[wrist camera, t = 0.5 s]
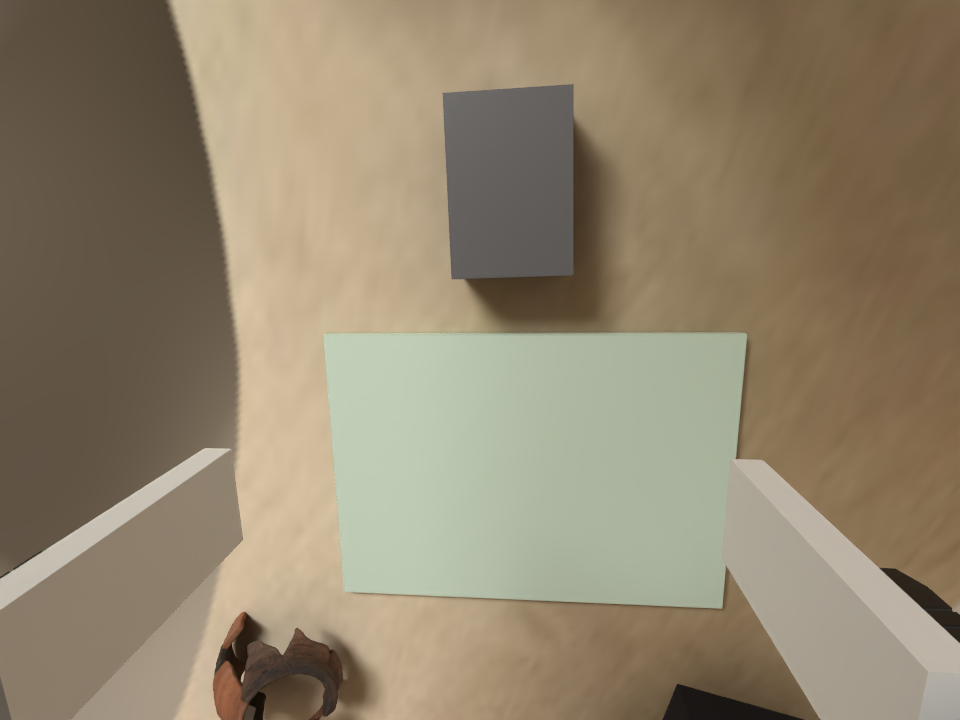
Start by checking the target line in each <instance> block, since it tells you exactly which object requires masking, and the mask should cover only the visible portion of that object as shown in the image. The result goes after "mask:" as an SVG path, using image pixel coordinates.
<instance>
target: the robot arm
mask: <svg viewBox="0 0 960 720" xmlns="http://www.w3.org/2000/svg"><path fill="white" fill-rule="evenodd" d="M242 540H243V536H242V528H241V520H240V513H239V505H238V497H237V489H236V482H235V474H234V466H233V458H232V451H231V449H211V448H205V449H203V450H201V451H200V452H198V453H197V454H195V455H194V456H192V457H190V458H189V459H187V460H186V461H184V462H183V463H181V464H180V465H178V466H176V467H175V468H173V469H172V470H170V471H168V472H167V473H165V474H164V475H163V476H161V477H159V478H158V479H156V480H155V481H153V482H151V483H150V484H148V485H147V486H145V487H143V488H142V489H140V490H139V491H137V492H136V493H134V494H132V495H131V496H129V497H128V498H126V499H125V500H123V501H122V502H120V503H118V504H117V505H115V506H114V507H112V508H111V509H109V510H107V511H106V512H104V513H103V514H101V515H100V516H98V517H96V518H95V519H93V520H92V521H90V522H89V523H87V524H85V525H84V526H82V527H81V528H79V529H78V530H76V531H75V532H73V533H71V534H70V535H68V536H67V537H65V538H64V539H62V540H60V541H59V542H57V543H56V544H54V545H53V546H51V547H49V548H48V549H45V550H43V551H41V552H39V553H37V554H36V555H34V556H32V557H31V558H29V559H28V560H26V561H25V562H23V563H21V564H20V565H18V566H17V567H15V568H14V570H13V571H12V572H7V573H6V574H4V575H3V576H1V577H0V720H71V719H72V718H73V717H74V716H75V715H76V713H77V712H78V711H79V710H80V709H81V708H82V707H83V706H84V705H85V704H86V703H87V702H88V701H89V700H90V699H91V698H92V697H93V696H94V695H95V693H96V692H98V690H99V689H100V688H101V687H102V686H103V685H104V684H105V683H106V682H107V681H108V680H109V679H110V678H111V677H112V676H113V675H114V674H115V673H116V672H117V671H118V670H119V668H120V667H122V665H123V664H124V663H125V662H126V661H127V660H128V659H129V658H130V657H131V656H132V655H133V654H134V653H135V652H136V651H137V650H138V649H139V648H140V647H141V646H142V645H143V644H144V642H145V641H146V640H147V639H148V638H149V637H150V636H151V635H152V634H153V633H154V632H155V631H156V630H157V629H158V628H159V627H160V626H161V625H162V623H164V622H165V620H167V618H168V617H169V616H170V615H171V614H172V613H173V612H174V611H175V610H176V609H177V608H178V607H179V606H180V605H181V604H182V603H183V602H184V601H185V600H186V599H187V598H188V596H190V594H191V593H192V592H193V591H194V590H195V589H196V588H197V587H198V586H199V585H200V584H201V583H202V582H203V581H204V580H205V579H206V578H207V577H208V576H209V574H211V573H212V571H213V570H214V569H215V568H216V567H217V566H218V565H219V564H220V563H221V562H222V561H223V560H224V559H225V558H226V557H227V556H228V555H229V554H230V553H231V552H232V551H233V550H234V549H235V547H236V546H237V545H238V544H239V543H240V542H241V541H242ZM721 558H722V559H723V561H724V563H725V564H726V566H727V568H728V569H729V571H730V573H731V574H732V576H733V578H734V579H735V581H736V582H737V584H738V586H739V587H740V589H741V591H742V592H743V594H744V596H745V597H746V599H747V600H748V602H749V604H750V605H751V607H752V609H753V610H754V612H755V614H756V615H757V617H758V618H759V620H760V622H761V623H762V625H763V627H764V628H765V630H766V632H767V633H768V635H769V636H770V638H771V640H772V641H773V643H774V645H775V646H776V648H777V650H778V651H779V653H780V654H781V656H782V658H783V659H784V661H785V663H786V664H787V666H788V668H789V669H790V671H791V672H792V674H793V676H794V677H795V679H796V681H797V682H798V684H799V686H800V687H801V689H802V690H803V692H804V694H805V695H806V697H807V699H808V700H809V702H810V704H811V705H812V707H813V709H814V710H815V712H816V713H817V715H818V717H819V718H820V720H960V615H959V614H958V613H957V612H953V611H952V608H951V607H950V606H949V605H948V604H947V603H945V602H944V601H943V600H942V599H941V598H940V597H938V596H937V595H936V594H935V593H934V592H933V591H932V590H930V589H929V588H928V587H927V586H925V585H923V584H921V583H920V582H918V581H916V580H914V579H913V578H911V577H909V576H907V575H905V574H904V573H902V572H900V571H898V570H897V569H890V568H878V567H877V566H876V565H875V564H874V563H873V562H872V561H871V560H870V559H869V558H868V557H866V556H865V555H864V554H863V553H862V552H861V551H860V550H859V549H858V548H857V547H856V546H855V545H854V544H853V543H851V542H850V541H849V540H848V539H847V538H846V537H845V536H844V535H843V534H842V533H841V532H840V531H839V530H837V529H836V528H835V527H834V526H833V525H832V524H831V523H830V522H829V521H828V520H827V519H826V518H825V517H824V516H822V515H821V514H820V513H819V512H818V511H817V510H816V509H815V508H814V507H813V506H812V505H811V504H810V503H808V502H807V501H806V500H805V499H804V498H803V497H802V496H801V495H800V494H799V493H798V492H797V491H796V490H795V489H793V488H792V487H791V486H790V485H789V484H788V483H787V482H786V481H785V480H784V479H783V478H782V477H781V476H780V475H778V474H777V473H776V472H775V471H774V470H773V469H772V468H771V467H770V466H769V465H768V464H767V463H766V462H764V461H763V460H748V459H731V461H730V471H729V482H728V492H727V503H726V513H725V524H724V534H723V544H722V555H721Z"/></svg>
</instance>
